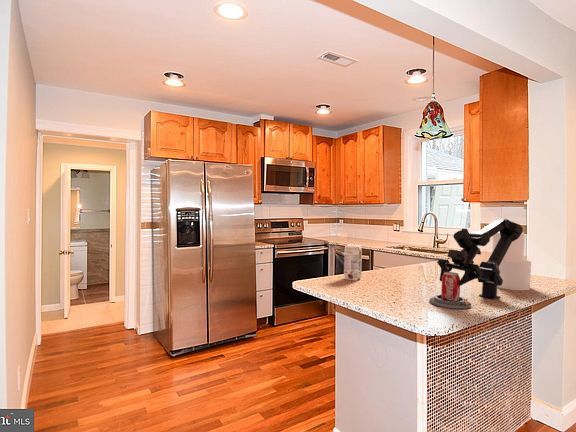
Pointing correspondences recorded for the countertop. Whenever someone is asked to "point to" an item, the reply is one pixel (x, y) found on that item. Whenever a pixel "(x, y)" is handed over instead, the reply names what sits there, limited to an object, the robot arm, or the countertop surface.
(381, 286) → the countertop surface
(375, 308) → the countertop surface
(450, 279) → the soda can
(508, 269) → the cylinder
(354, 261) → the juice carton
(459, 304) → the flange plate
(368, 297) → the countertop surface
